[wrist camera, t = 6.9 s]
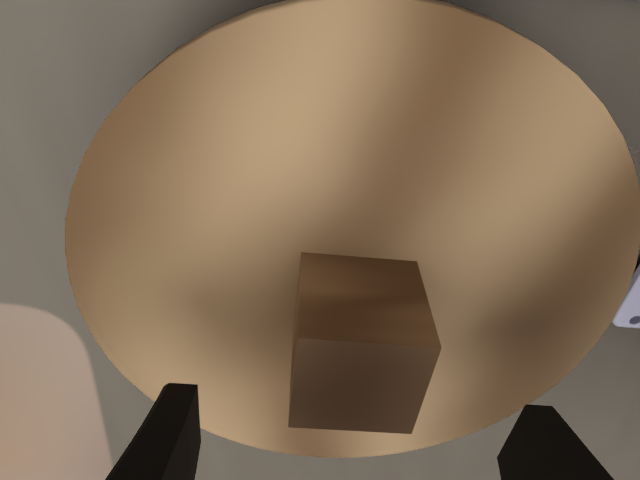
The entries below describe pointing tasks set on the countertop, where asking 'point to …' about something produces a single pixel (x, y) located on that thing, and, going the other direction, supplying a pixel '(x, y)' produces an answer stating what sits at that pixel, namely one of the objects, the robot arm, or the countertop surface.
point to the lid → (354, 225)
